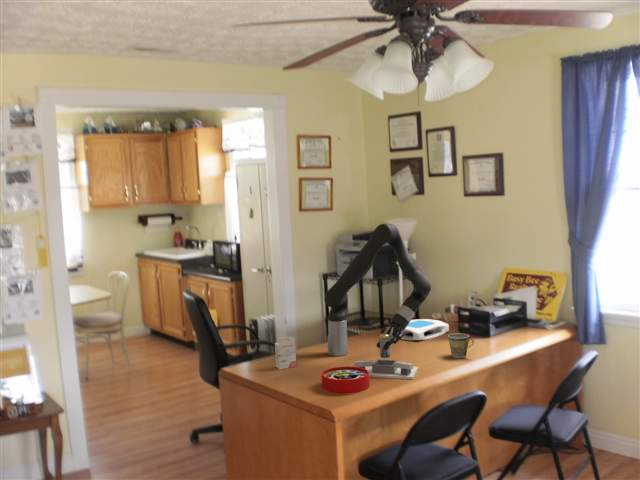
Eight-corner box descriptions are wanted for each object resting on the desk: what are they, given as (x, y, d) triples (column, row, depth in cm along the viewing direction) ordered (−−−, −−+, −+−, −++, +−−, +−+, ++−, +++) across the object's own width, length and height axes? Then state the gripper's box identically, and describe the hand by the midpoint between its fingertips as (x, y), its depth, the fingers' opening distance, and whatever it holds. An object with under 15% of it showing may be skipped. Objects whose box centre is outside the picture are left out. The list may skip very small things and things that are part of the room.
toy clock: (320, 367, 286) (366, 365, 287) (320, 381, 287) (366, 378, 288) (323, 381, 266) (372, 378, 267) (323, 395, 267) (372, 392, 268)
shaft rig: (351, 376, 291) (351, 363, 291) (360, 366, 306) (359, 354, 306) (412, 379, 283) (412, 366, 283) (418, 368, 298) (418, 356, 298)
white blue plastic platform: (449, 333, 367) (449, 321, 366) (418, 342, 348) (418, 331, 347) (419, 328, 382) (419, 317, 382) (388, 337, 363) (387, 325, 362)
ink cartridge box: (292, 364, 314) (290, 333, 313) (296, 366, 310) (295, 335, 308) (275, 367, 310) (274, 336, 309) (279, 369, 306) (278, 338, 304)
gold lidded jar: (382, 358, 291) (381, 336, 291) (378, 355, 296) (377, 333, 295) (391, 357, 292) (390, 335, 292) (388, 354, 297) (387, 333, 296)
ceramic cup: (444, 357, 317) (443, 336, 316) (455, 352, 324) (454, 332, 323) (468, 361, 308) (467, 340, 307) (479, 356, 315) (478, 335, 314)
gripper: (388, 310, 302) (367, 340, 298) (406, 315, 290) (385, 346, 285) (398, 320, 305) (377, 350, 300) (417, 325, 293) (395, 356, 288)
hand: (381, 348), depth 293 cm, fingers closed on gold lidded jar, 4 cm apart
